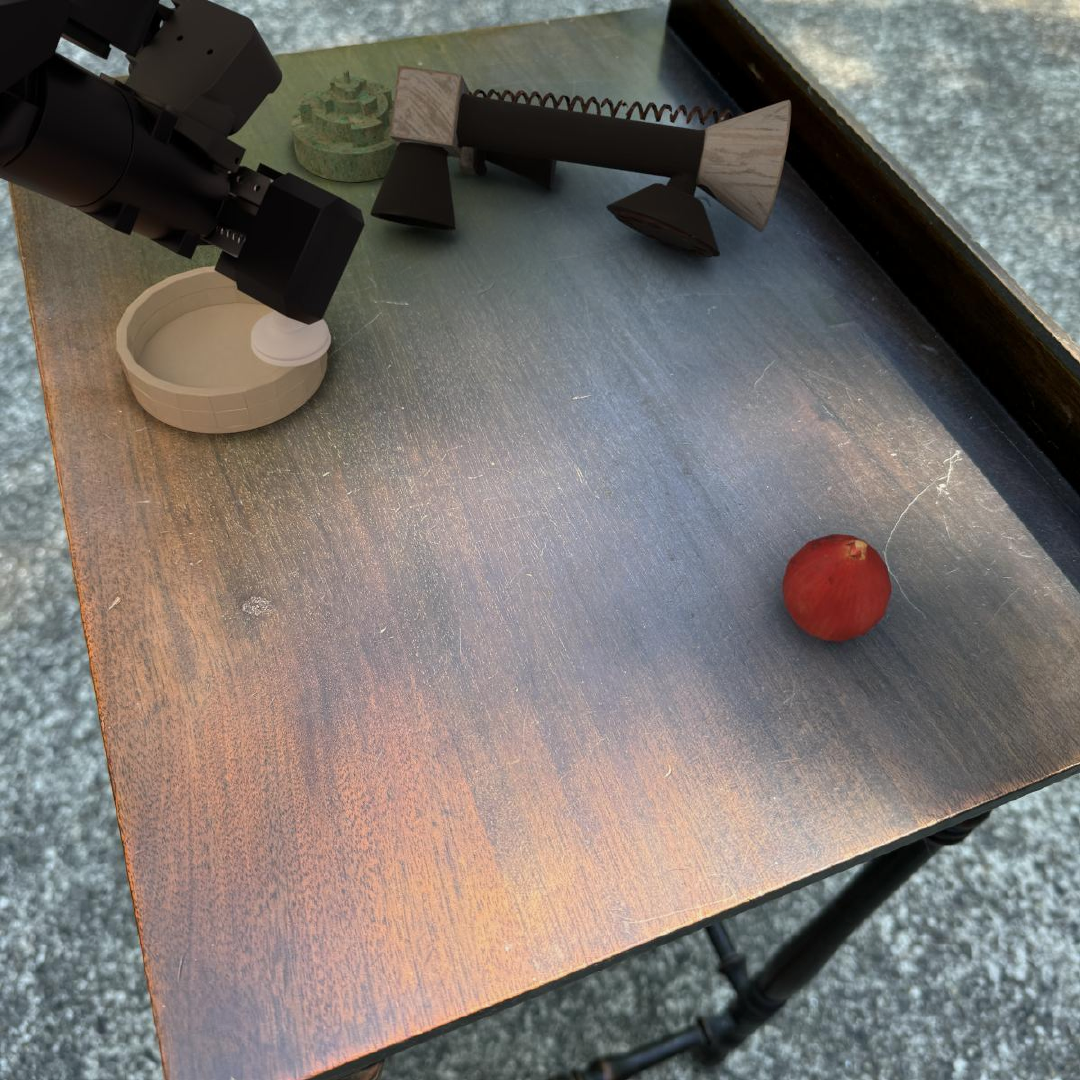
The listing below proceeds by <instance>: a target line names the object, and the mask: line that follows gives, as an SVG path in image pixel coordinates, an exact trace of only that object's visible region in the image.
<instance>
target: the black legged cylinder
mask: <svg viewBox="0 0 1080 1080" xmlns="http://www.w3.org/2000/svg"><path fill="white" fill-rule="evenodd" d="M396 74H397V75H396V83H395V92H394V100H393V101H394V107H393V115H392V123H391V131H390V137H391V138H392V139H394V141H395V143H396V145H397V148H396V152H395V154H394V157H393V159H392V162H391V164H390V166H389V169H388V171H387V174H386V176H385V177H383V178H384V179H383V180H382V184H381V186H380V188H379V191H378V193H377V195H376V198H375V200H374V203H373V205H372V208H371V210H370V216H372V217H374V218H376V219H380V220H383V221H386V222H391V223H395V224H400V225H403V226H410V227H416V228H422V229H427V230H429V229H430V230H437V231H456V230H457V225H456V216H455V208H454V200H453V193H452V185H451V177H450V169H449V162H448V161H449V160H448V157H449V158H456V159H458V168H459V169H460V171H461V172H462V173H463V174H466V175H467V174H468V175H473V176H474V175H475V176H477V175H478V177H485V176H486V175H487V174H488V167H487V164H486V162H488V163H491V164H493V165H494V166H497V167H500V168H501V169H505V170H507V171H509V172H511V173H514V174H516V175H518V176H521V177H523V178H524V179H527V180H529V181H532V182H534V183H537V184H539V185H541V186H543V187H545V188H546V187H547V188H548V189H550V190H552V188H553V184H554V179H555V174H556V169H557V168H556V167H557V163H558V162H564V163H569V164H577V165H583V166H590V167H596V168H597V167H598V168H603V169H610V170H616V171H622V172H623V171H624V172H628V173H636V174H642V175H649V176H655V177H663V178H666V179H667V178H669V180H668V182H667V183H666V184H663V183H660V182H654V183H652V184H650V185H647V186H646V187H643V188H642V189H639V190H636V191H635V192H632V193H631V194H629V195H625V197H622V198H620V199H618V200H616V201H614V202H612V203H610V204H608V205H606V207H605V208H606V210H607V211H608V212H610V214H612V215H613V216H614V218H615V219H616V220H617V221H619V222H620V223H622V224H623V225H624V226H626V227H628V228H630V229H631V230H634V231H635V232H637V233H639V234H640V235H643V236H645V237H647V238H650V239H652V240H654V241H656V242H658V243H661V244H663V245H666V246H668V247H671V248H674V249H676V250H679V251H682V252H684V253H687V254H690V255H694V256H698V257H703V258H712V257H713V258H714V257H720V256H721V253H720V249H719V246H718V242H717V239H716V237H715V235H714V232H713V228H712V225H711V221H710V219H709V216H708V213H707V210H706V208H705V205H704V203H703V202H702V201H701V200H700V199H699V198H697V197H695V195H696V191H697V188H698V189H700V190H701V191H703V192H704V193H705V194H706V195H708V196H710V198H712V199H713V200H715V201H716V202H717V203H718V204H720V205H721V206H723V207H724V208H726V209H727V210H728V211H730V212H732V214H734V215H735V216H736V217H738V218H739V219H741V220H742V221H744V222H745V223H746V224H747V225H749V226H751V227H752V228H753V229H754V230H756V231H757V232H759V233H763V231H764V230H765V228H766V227H767V224H768V222H769V220H770V216H771V214H772V211H773V208H774V204H775V202H776V197H777V194H778V190H779V186H780V181H781V178H782V173H783V169H784V163H785V160H786V159H785V158H786V153H787V147H788V144H789V143H788V142H789V135H790V129H791V128H790V127H791V119H792V118H791V117H792V103H791V100H790V99H787V100H782V101H779V102H776V103H774V104H770V105H767V106H765V107H762V108H759V109H756V110H753V111H751V112H748V113H747V112H746V111H740V112H739V113H737V115H736V116H735V117H734V114H733V112H732V111H731V110H730V109H728V108H727V109H724V110H723V111H722V113H720V116H719V114H718V111H717V109H715V107H710V108H709V109H708V110H707V111H706V112H705V115H704V114H703V110H702V108H701V106H699V105H696V106H694V107H693V108H692V109H691V110H690V112H689V113H688V111H687V108H686V105H684V104H680V105H679V106H678V107H677V108H676V109H675V111H674V113H673V107H672V105H671V104H668V103H663V104H662V105H661V106H660V108H659V110H658V106H657V105H656V103H655V102H654V101H653V102H652V101H651V102H648V103H647V105H646V107H645V109H644V107H643V106H642V103H641V102H640V101H637V100H636V101H634V102H633V103H632V104H631V105H630V107H629V106H628V104H627V102H626V101H624V100H623V99H621V100H619V101H617V104H616V105H615V106H614V103H613V101H612V99H610V98H609V97H606V98H604V99H603V100H602V101H601V104H600V102H599V101H598V99H597V98H596V97H595V96H590V97H589V98H588V99H587V100H586V102H585V100H584V98H583V97H582V96H580V95H575V96H574V97H573V98H572V100H571V98H570V97H569V96H568V95H565V94H562V95H560V96H559V97H558V100H557V98H556V96H555V95H554V93H552V92H548V93H546V94H545V95H544V96H543V98H542V96H541V95H540V93H539V92H538V91H537V90H534V91H532V92H530V93H531V94H530V96H529V95H528V94H527V92H526V91H524V90H522V89H521V90H520V89H519V90H518V91H517V92H516V93H515V94H514V93H513V92H512V91H511V90H510V89H504V90H503V92H502V94H501V93H500V91H496V90H495V89H494V88H491V89H489V90H488V92H487V93H486V92H485V91H484V90H482V89H480V88H477V89H475V90H474V91H473V93H472V91H470V90H469V87H468V85H467V83H466V81H465V79H464V77H463V75H462V74H460V73H454V72H446V71H439V70H434V69H426V68H420V67H413V66H408V65H398V67H397V73H396ZM479 94H481V95H482V96H478V95H479ZM493 95H495V96H496V97H497V99H496V98H492V97H493ZM507 95H508V96H509V97H510V100H511V101H509V100H505V99H506V96H507ZM521 96H522V97H523V99H524V102H525V103H522V102H518V101H519V99H520V98H521ZM535 97H536V98H537V101H538V103H539V105H537V104H532V101H533V98H535ZM549 99H551V103H552V106H553V107H548V106H546V104H547V102H548V100H549ZM564 99H565V103H566V108H567V109H562V108H559V106H561V104H562V102H563V100H564ZM577 102H579V103H580V107H581V111H576V110H574V109H575V106H576V103H577ZM591 103H593V104H594V105H595V108H596V114H595V113H589V112H588V111H589V108H590V106H591ZM606 105H608V107H609V113H610V115H602V109H603V108H604V107H605V106H606ZM621 106H622V107H623V108H624V107H626V108H627V109H628V110H627V111H626V113H625V116H626V117H625V118H622V117H616V116H617V114H618V113H619V112H618V111H619V110H620V108H621ZM636 108H637V109H638V114H639V120H636V119H631V118H632V115H633V113H634V110H635V109H636ZM651 109H652V111H653V114H654V119H655V122H649V121H646V120H647V116H648V113H649V112H650V110H651ZM665 110H668V111H669V112H670V113H669V123H672V124H675V122H676V120H677V118H678V116H679V114H680V113H681V111H682V114H683V116H684V117H686V122H685V123H686V125H689V124H690V122H691V121H692V119H693V116H694V115H695V114H696V112H697V115H698V120H699V124H700V125H702V126H705V124H706V120H708V118H710V116H711V115H713V120H714V124H712V125H709V126H707V128H705V129H696V128H689V127H682V126H677V125H669V124H662V123H660V122H661V120H662V117H663V114H664V111H665ZM726 116H728V119H726V120H724V119H725V117H726Z"/></svg>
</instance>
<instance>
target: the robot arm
mask: <svg viewBox="0 0 1080 1080" xmlns="http://www.w3.org/2000/svg"><path fill="white" fill-rule="evenodd" d="M170 1H171V3H172V5H173V6H174V7H168V6H166V5H164V4H162V3H161V0H0V179H1V180H3V181H6V182H8V183H11V184H13V185H16V186H18V187H21V188H23V189H26V190H28V191H30V192H34V193H36V194H38V195H41V196H43V197H46V198H49V199H50V200H54V201H56V202H58V203H61V204H63V205H65V206H68V207H71V208H73V209H75V210H78V211H80V212H81V213H84V214H86V215H87V216H89V217H90V218H92V219H95V220H96V221H97V222H100V223H101V224H103V225H105V226H107V227H108V228H111V229H113V230H114V231H117V232H119V233H122V234H125V235H127V236H131V234H132V233H135V234H138V235H140V236H143V237H146V238H148V239H149V240H150V241H152V242H154V243H156V244H158V245H160V246H161V247H163V248H165V249H167V250H169V251H170V252H172V253H175V254H176V255H178V256H182V258H183V257H184V258H186V259H189V260H192V259H193V256H194V254H195V253H196V249H197V247H200V246H214V247H216V248H218V249H219V250H221V251H220V254H219V257H218V259H217V261H216V264H215V265H214V266H215V268H214V270H215V271H217V272H218V273H220V274H222V275H224V276H226V277H228V278H229V279H231V280H233V281H235V282H236V285H237V290H239V291H241V292H242V293H244V294H246V295H248V296H250V297H251V298H253V299H255V300H257V301H259V302H261V303H262V304H264V305H266V306H268V307H270V308H271V309H273V310H275V311H277V312H279V313H280V314H282V315H284V316H286V317H288V318H291V319H293V320H296V321H299V322H302V323H304V324H307V325H311V324H313V323H315V322H318V321H320V320H322V319H323V320H324V316H325V315H326V312H327V310H328V308H329V306H330V303H331V301H332V299H333V296H334V294H335V292H336V290H337V287H338V285H339V283H340V281H341V278H342V277H343V274H344V272H345V270H346V268H347V265H348V263H349V261H350V260H351V257H352V254H353V253H354V251H355V248H356V245H357V244H358V242H359V239H360V237H361V234H362V232H363V230H364V228H365V226H366V224H365V220H364V216H363V211H362V209H361V208H359V207H357V206H356V205H354V204H353V203H351V202H349V201H348V200H346V199H344V198H342V197H340V196H338V195H337V194H334V193H332V192H331V191H328V190H327V189H324V188H322V187H320V186H318V185H316V184H315V183H312V182H310V181H308V180H306V179H304V178H302V177H300V176H298V175H296V174H294V173H291V172H290V171H288V172H286V173H282V172H280V171H278V170H277V169H274V168H272V167H270V166H268V165H266V164H264V163H262V162H259V164H258V166H257V168H256V170H254V169H252V168H249V167H248V166H245V165H241V163H242V160H243V158H244V157H245V153H246V152H247V149H246V147H243V146H241V145H240V144H238V143H236V142H235V141H233V140H231V139H229V138H228V137H231V136H233V135H235V134H237V133H239V132H240V130H241V129H242V128H243V127H244V126H245V125H246V124H247V122H248V121H249V120H250V118H251V117H252V116H253V114H254V113H255V112H256V111H257V109H259V107H260V106H261V105H262V103H263V102H264V100H266V98H267V97H268V95H273V94H274V93H275V92H276V90H277V89H278V88H279V87H280V85H281V83H282V80H283V72H282V70H281V67H280V66H279V64H278V62H277V61H276V59H275V57H274V55H273V54H272V52H271V50H270V49H269V47H268V45H267V43H266V41H265V40H264V39H263V37H262V35H261V33H260V31H259V30H258V28H257V26H256V25H255V23H254V21H253V20H252V19H251V18H250V17H248V16H247V15H244V14H242V13H239V12H236V11H234V10H232V9H230V8H227V7H225V6H222V5H220V4H218V3H216V2H214V1H211V0H170ZM61 39H63V40H65V41H67V42H68V43H71V44H73V45H74V46H77V47H78V48H81V49H82V50H84V51H86V52H88V53H90V54H92V55H94V56H97V57H99V58H101V59H103V60H106V61H107V60H108V59H109V56H110V54H111V51H112V47H114V48H116V49H117V50H119V51H121V52H123V53H125V55H124V57H125V59H126V60H127V61H128V62H129V64H128V67H127V71H128V75H129V76H128V77H127V79H126V80H125V82H122V81H120V80H118V79H116V78H114V77H112V76H110V75H107V74H106V73H104V72H102V71H101V72H100V74H99V75H98V74H96V73H95V72H92V71H91V70H89V69H88V68H86V67H84V66H82V65H80V64H78V63H76V62H75V61H73V60H71V59H70V58H68V57H66V56H64V55H63V54H61V53H59V52H57V49H58V46H59V43H60V41H61ZM111 46H112V47H111Z"/></svg>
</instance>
